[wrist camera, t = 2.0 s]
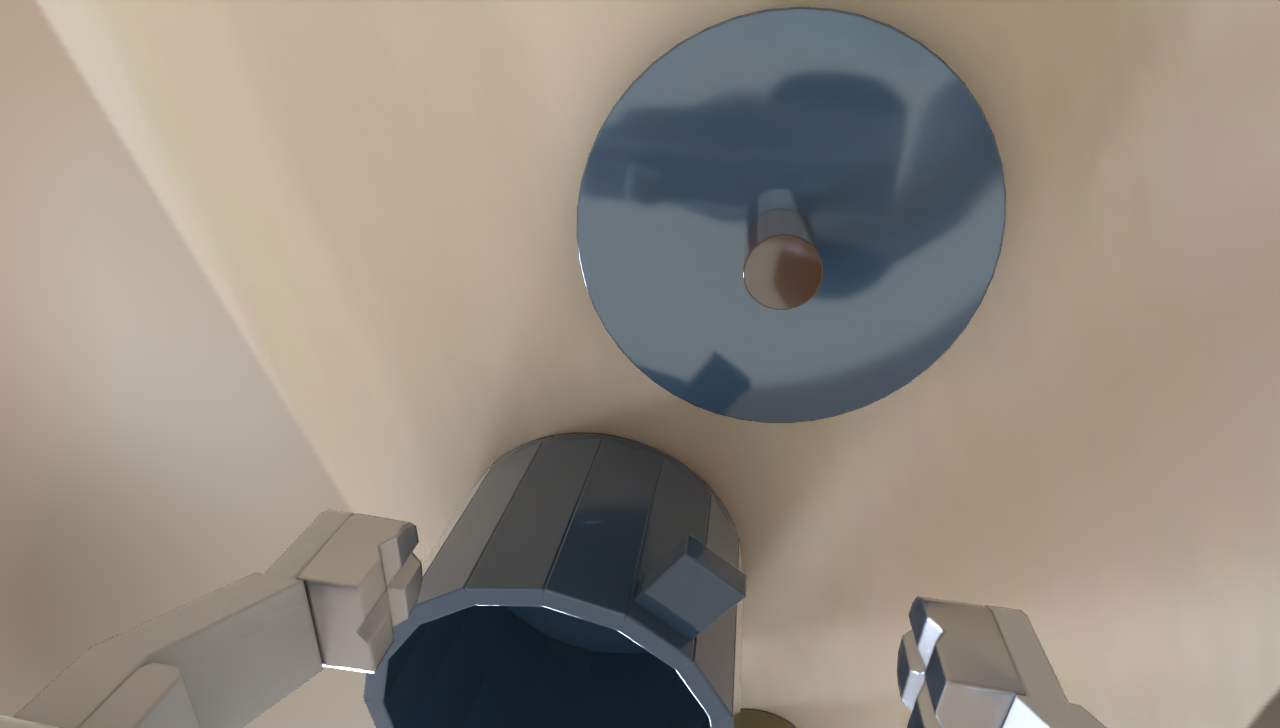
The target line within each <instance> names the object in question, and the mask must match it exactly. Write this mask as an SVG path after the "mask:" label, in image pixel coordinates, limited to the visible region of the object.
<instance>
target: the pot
mask: <svg viewBox="0 0 1280 728" xmlns="http://www.w3.org/2000/svg"><path fill="white" fill-rule="evenodd" d="M422 573H423V575H422V587H421V590H420V593H419V597H418V600H417V603H416V605H415V607H414V609H413V611H412V612H411V614H410V616H409V617H408V619H406V620H405V621H403V622H401V623H400V624H398V625H396V626H395V627H393V632H394V639H395V641H394V642H393V644H392V645H391V647H390V649H389V650H388V652H387V653H386V655H385V657H384V658H383V660H382V662H381V663H380V665H379V666H378V668H377V670H376V671H375V673H374V674H373V673H366V678H365V687H364V697H363V698H364V702H365V704H366V706H367V709H368V711H369V713H370V715H371V718H372V720H373V722H374V725H375V727H376V728H740V707H741V668H742V629H743V599H744V598H745V597H746V575H745V574H744V573H743V571H742V552H741V547H740V539H739V537H738V534H737V532H736V529H735V526H734V523H733V521H732V519H731V518H730V516H729V514H728V512H727V510H726V508H725V507H724V505H723V504H722V503H721V501H720V500H719V498H718V497H717V496H716V494H715V493H714V492H713V491H712V490H711V489H710V488H709V487H708V486H707V485H706V483H705V482H704V481H703V480H702V479H700V478H699V477H698V476H697V475H696V474H694V473H693V472H692V471H691V470H690V469H688V468H687V467H685V466H684V465H682V464H681V463H679V462H678V461H676V460H675V459H673V458H672V457H670V456H668V455H666V454H664V453H662V452H660V451H658V450H656V449H654V448H651V447H649V446H646V445H643V444H641V443H638V442H635V441H632V440H628V439H624V438H620V437H616V436H609V435H602V434H590V433H572V434H562V435H555V436H550V437H546V438H541V439H538V440H535V441H532V442H529V443H527V444H524V445H521V446H520V447H518V448H516V449H514V450H512V451H510V452H508V453H507V454H505V455H504V456H503V457H501V458H500V459H499V460H497V461H496V462H494V463H493V465H492V466H491V467H490V468H489V469H488V470H487V471H486V472H485V473H484V474H483V476H482V477H481V479H480V480H479V481H478V483H477V484H476V485H475V486H474V488H473V489H472V490H471V491H470V493H469V494H468V495H467V496H466V498H465V499H464V501H463V502H462V504H461V506H460V507H459V509H458V510H457V512H456V513H455V515H454V516H453V518H452V520H451V521H450V523H449V524H448V526H447V527H446V529H445V531H444V532H443V534H442V535H441V537H440V538H439V540H438V541H437V543H436V545H435V546H434V548H433V549H432V551H431V552H430V554H429V556H428V557H427V559H426V560H425V562H424V563H423V565H422Z"/></svg>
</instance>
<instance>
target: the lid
mask: <svg viewBox="0 0 1280 728" xmlns="http://www.w3.org/2000/svg"><path fill="white" fill-rule="evenodd" d="M1005 213H1006V190H1005V183H1004V175H1003V167H1002V162H1001V159H1000V155H999V152H998V148H997V145H996V141H995V138H994V135H993V133H992V130H991V128H990V126H989V124H988V122H987V120H986V117H985V115H984V113H983V111H982V109H981V107H980V106H979V104H978V103H977V101H976V100H975V98H974V97H973V95H972V94H971V92H970V91H969V89H968V88H967V86H966V85H965V83H964V82H963V81H962V80H961V79H960V78H959V77H958V76H957V75H956V74H955V72H954V71H953V70H952V69H951V68H950V67H949V66H948V65H947V64H946V63H945V62H944V61H943V60H942V59H941V58H939V57H938V56H937V55H936V54H934V53H933V52H932V51H931V50H929V49H928V48H927V47H926V46H924V45H923V44H922V43H920V42H919V41H917V40H915V39H914V38H912V37H910V36H908V35H907V34H905V33H903V32H901V31H899V30H898V29H896V28H894V27H892V26H890V25H887V24H884V23H882V22H879V21H876V20H874V19H871V18H868V17H866V16H863V15H859V14H854V13H849V12H844V11H840V10H835V9H826V8H810V7H792V8H781V9H769V10H764V11H759V12H755V13H751V14H746V15H742V16H738V17H735V18H732V19H729V20H727V21H724V22H721V23H719V24H716V25H714V26H711V27H708V28H706V29H704V30H702V31H701V32H699V33H697V34H695V35H693V36H692V37H690V38H688V39H686V40H684V41H682V42H681V43H679V44H678V45H676V46H675V47H673V48H672V49H671V50H669V51H668V52H667V53H665V54H664V55H663V56H661V57H660V58H659V59H657V60H656V61H655V62H653V63H652V64H651V65H650V66H649V67H648V68H647V69H646V70H645V71H644V72H643V73H642V74H641V75H640V76H639V77H638V78H637V79H636V80H635V81H634V82H633V83H632V84H631V85H630V87H629V88H628V89H627V90H626V92H625V93H624V94H623V96H622V97H621V98H620V99H619V101H618V102H617V103H616V104H615V106H614V107H613V109H612V111H611V112H610V114H609V116H608V117H607V119H606V121H605V122H604V124H603V126H602V127H601V129H600V131H599V133H598V135H597V138H596V140H595V142H594V145H593V147H592V149H591V152H590V154H589V156H588V160H587V163H586V167H585V170H584V174H583V177H582V181H581V186H580V192H579V199H578V206H577V243H578V252H579V261H580V265H581V269H582V273H583V277H584V281H585V285H586V288H587V290H588V293H589V295H590V298H591V301H592V303H593V306H594V308H595V310H596V312H597V314H598V316H599V317H600V319H601V321H602V323H603V325H604V327H605V329H606V330H607V331H608V333H609V334H610V336H611V337H612V339H613V340H614V341H615V343H616V344H617V346H618V347H619V348H620V349H621V351H622V352H623V353H624V354H625V355H626V356H627V357H628V358H629V359H630V360H631V362H632V363H633V364H634V365H635V366H636V367H637V368H639V369H640V370H641V371H642V372H643V373H644V374H646V375H647V376H648V377H649V378H650V379H651V380H653V381H654V382H655V383H657V384H658V385H660V386H661V387H663V388H664V389H666V390H667V391H669V392H670V393H672V394H673V395H675V396H677V397H679V398H681V399H683V400H685V401H687V402H689V403H691V404H693V405H695V406H698V407H700V408H703V409H706V410H708V411H711V412H714V413H716V414H720V415H724V416H729V417H733V418H737V419H741V420H749V421H757V422H767V423H793V422H803V421H814V420H818V419H823V418H828V417H833V416H838V415H841V414H844V413H847V412H850V411H853V410H856V409H859V408H862V407H865V406H867V405H869V404H871V403H873V402H875V401H878V400H880V399H882V398H884V397H886V396H888V395H890V394H891V393H893V392H895V391H896V390H898V389H900V388H901V387H903V386H905V385H906V384H908V383H909V382H911V381H912V380H913V379H915V378H916V377H917V376H919V375H920V374H921V373H922V372H924V371H925V370H926V369H928V368H929V367H930V366H931V365H932V364H933V363H934V362H935V361H936V360H937V359H938V358H939V357H940V356H941V355H942V354H943V353H945V352H946V351H947V350H948V349H949V347H950V346H951V345H952V344H953V343H954V341H955V340H956V339H957V338H958V336H959V335H960V334H961V333H962V331H963V330H964V329H965V328H966V326H967V325H968V323H969V321H970V320H971V318H972V317H973V315H974V313H975V312H976V310H977V309H978V307H979V305H980V304H981V302H982V300H983V297H984V295H985V293H986V291H987V289H988V286H989V284H990V282H991V280H992V278H993V274H994V271H995V268H996V264H997V261H998V258H999V255H1000V251H1001V246H1002V240H1003V234H1004V227H1005Z"/></svg>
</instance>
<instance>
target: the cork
mask: <svg viewBox="0 0 1280 728" xmlns="http://www.w3.org/2000/svg"><path fill="white" fill-rule="evenodd" d="M740 728H795V727H794V726H793V725H792V724H791V723H790V722H788V721H786V720H784V719H782V718H780V717H778V716H776V715H774V714H770V713H767V712H763V711H759V710H746V709H740Z"/></svg>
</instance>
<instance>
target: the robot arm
mask: <svg viewBox="0 0 1280 728" xmlns="http://www.w3.org/2000/svg"><path fill="white" fill-rule="evenodd" d="M418 542H419V540H418V535H417V529H416V526H415V525H414V524H412V523H410V522H405V521H399V520H393V519H387V518H382V517H376V516H370V515H364V514H358V513H357V514H354V513H349V512H343V511H337V510H331V509H329V510H327V511H324V512H322V513H320V514H319V515H318V517H317V518H316V519H315V520H314V521H313V522H312V523H311V524H310V525H309V526H308V527H307V528H306V529H305V530H304V531H303V532H302V534H301V535H300V536H299V537H298V538H297V539H296V540H295V541H294V542H293V543H292V544H291V545H290V546H289V547H288V548H287V550H286V551H285V552H284V553H283V554H282V555H281V556H280V557H279V558H278V559H277V560H276V561H275V562H274V563H273V564H272V565H271V566H270V568H269V569H268V570H267V571H266V572H265V573H264V574H261V573H253V574H251V575H249V576H246V577H244V578H242V579H240V580H238V581H235V582H233V583H231V584H229V585H226V586H225V587H222V588H220V589H218V590H215V591H213V592H211V593H209V594H207V595H204V596H202V597H200V598H198V599H196V600H193V601H191V602H189V603H187V604H185V605H182V606H180V607H178V608H176V609H173V610H171V611H169V612H167V613H165V614H162V615H160V616H158V617H156V618H154V619H151V620H149V621H147V622H145V623H143V624H140V625H138V626H136V627H134V628H132V629H129V630H127V631H125V632H123V633H120V634H118V635H116V636H114V637H112V638H109V639H107V640H105V641H103V642H101V643H98V644H96V645H94V646H92V647H90V648H88V649H87V651H85V652H84V653H83V654H82V655H81V656H80V657H78V658H77V659H76V660H75V661H74V662H73V663H72V664H71V665H70V666H68V667H67V668H66V669H65V670H64V671H63V672H62V673H61V674H60V675H58V676H57V677H56V678H55V679H54V680H53V681H52V682H51V683H50V684H48V685H47V686H46V687H45V688H44V689H43V690H42V691H41V692H40V693H38V694H37V695H36V696H35V697H34V698H33V699H32V700H31V701H30V702H28V703H27V704H26V705H25V706H24V707H23V708H22V709H21V710H20V711H18V712H17V713H16V714H15V715H14V716H13V717H8V716H3V715H0V728H243V727H244V726H245V725H247V724H248V723H249V722H251V721H252V720H254V719H255V718H256V717H258V716H259V715H261V714H262V713H263V712H265V711H266V710H267V709H269V708H270V707H272V706H273V705H274V704H276V703H277V702H279V701H280V700H282V699H283V698H284V697H286V696H287V695H288V694H290V693H291V692H293V691H294V690H295V689H297V688H298V687H300V686H301V685H302V684H304V683H305V682H307V681H308V680H309V679H311V678H312V677H313V676H315V675H316V674H318V673H319V672H321V671H322V670H323V666H325V667H332V668H339V669H346V670H352V671H359V672H366V673H373V674H374V673H375V671H376V670H377V668H378V666H379V665H380V663H381V662H382V660H383V658H384V657H385V655H386V653H387V652H388V650H389V649H390V647H391V645H392V644H393V642H394V641H395V639H394V632H393V627H395V626H396V625H398V624H400V623H401V622H403V621H405V620H406V619H408V617H409V616H410V614H411V612H412V611H413V609H414V607H415V605H416V603H417V600H418V597H419V593H420V590H421V587H422V575H423V573H422V564H421V561H420V560H419V559H418V558H417V557H416V555H415V554H414V553H413V552H412V551H413V549H414V548H415V546H416V545H417V543H418ZM909 618H910V622H911V626H912V630H911V631H909V632H908V633H906V634H905V635H903V636H902V639H901V643H900V647H899V651H898V662H897V677H898V686H899V691H900V696H901V700H902V701H903V702H904V704H905V705H906V706H907V707H908V708H909V709H910V710H911V711H912V713H911V716H910V719H909V723H908V726H907V728H1106V727H1105V726H1104V725H1103V724H1102V723H1101V722H1099V721H1098V720H1097V719H1096V718H1095V717H1094V716H1092V715H1091V714H1090V713H1089V712H1088V711H1087V710H1085V709H1084V708H1083V707H1082V706H1081V705H1077V704H1071V703H1069V702H1068V700H1067V698H1066V695H1065V693H1064V691H1063V689H1062V687H1061V685H1060V683H1059V681H1058V679H1057V677H1056V675H1055V673H1054V670H1053V668H1052V666H1051V664H1050V662H1049V660H1048V658H1047V656H1046V654H1045V652H1044V650H1043V648H1042V645H1041V643H1040V641H1039V639H1038V637H1037V635H1036V633H1035V631H1034V629H1033V627H1032V625H1031V623H1030V620H1029V618H1028V616H1027V615H1026V614H1025V613H1024V612H1023V611H1022V610H1018V609H1010V608H1002V607H995V606H987V605H986V606H982V605H976V604H969V603H962V602H954V601H947V600H940V599H933V598H926V597H918V596H917V597H916V599H915V600H914V601H913V603H912V606H911V609H910V612H909Z"/></svg>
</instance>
